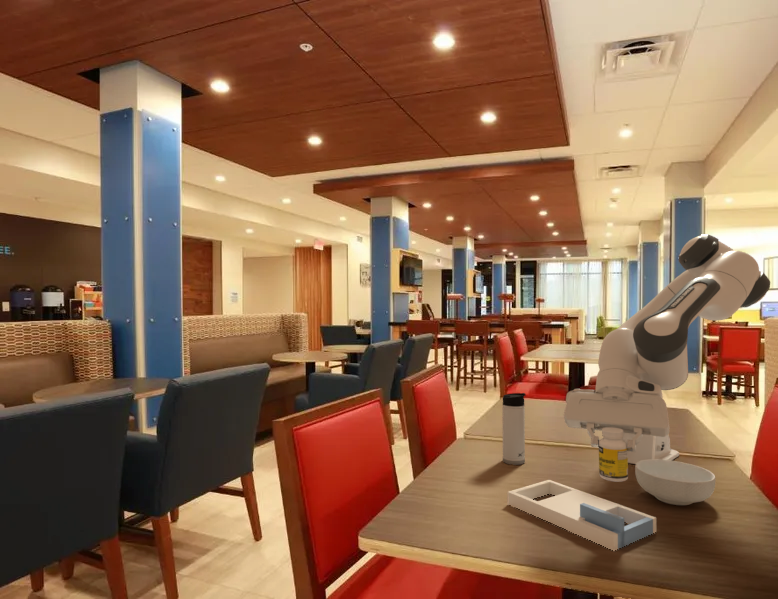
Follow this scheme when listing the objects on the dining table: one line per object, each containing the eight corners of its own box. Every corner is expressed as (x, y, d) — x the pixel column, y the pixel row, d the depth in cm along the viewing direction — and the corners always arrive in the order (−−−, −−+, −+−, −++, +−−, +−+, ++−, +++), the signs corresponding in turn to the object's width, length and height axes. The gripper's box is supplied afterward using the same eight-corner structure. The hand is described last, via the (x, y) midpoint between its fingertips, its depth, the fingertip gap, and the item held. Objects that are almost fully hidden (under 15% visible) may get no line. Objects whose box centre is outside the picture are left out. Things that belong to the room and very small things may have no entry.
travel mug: (526, 465, 149) (526, 395, 149) (502, 464, 150) (502, 394, 150) (525, 459, 155) (525, 391, 155) (502, 457, 157) (502, 390, 157)
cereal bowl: (715, 519, 113) (715, 486, 113) (630, 503, 121) (630, 473, 121) (715, 494, 127) (715, 465, 127) (639, 481, 136) (639, 454, 136)
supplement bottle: (593, 475, 108) (592, 427, 108) (613, 471, 110) (612, 425, 110) (613, 483, 103) (612, 433, 103) (634, 479, 105) (633, 430, 105)
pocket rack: (549, 491, 129) (549, 469, 129) (656, 532, 106) (656, 505, 106) (507, 504, 121) (507, 480, 121) (614, 551, 98) (613, 522, 98)
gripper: (565, 380, 118) (557, 433, 109) (669, 386, 108) (668, 445, 99) (569, 396, 121) (561, 449, 113) (669, 404, 111) (669, 462, 103)
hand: (612, 447), depth 106 cm, fingers closed on supplement bottle, 5 cm apart
